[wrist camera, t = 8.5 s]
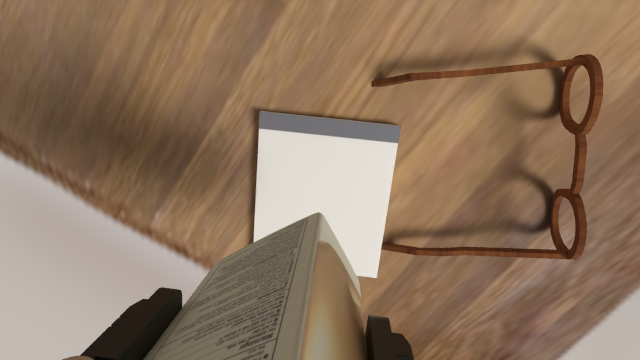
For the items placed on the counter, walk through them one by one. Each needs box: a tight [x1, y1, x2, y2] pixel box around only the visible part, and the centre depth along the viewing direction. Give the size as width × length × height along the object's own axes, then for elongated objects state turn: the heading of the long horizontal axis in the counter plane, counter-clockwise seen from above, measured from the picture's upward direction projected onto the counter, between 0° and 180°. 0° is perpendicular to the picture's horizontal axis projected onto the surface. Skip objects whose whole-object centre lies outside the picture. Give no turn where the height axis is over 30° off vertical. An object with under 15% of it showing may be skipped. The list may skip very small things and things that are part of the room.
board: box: [254, 111, 401, 278], centre depth 25 cm, size 12×10×1 cm
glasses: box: [372, 54, 603, 260], centre depth 22 cm, size 13×13×5 cm
